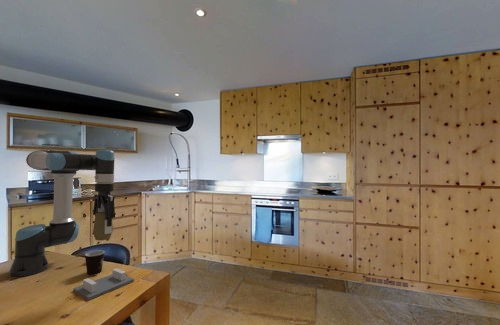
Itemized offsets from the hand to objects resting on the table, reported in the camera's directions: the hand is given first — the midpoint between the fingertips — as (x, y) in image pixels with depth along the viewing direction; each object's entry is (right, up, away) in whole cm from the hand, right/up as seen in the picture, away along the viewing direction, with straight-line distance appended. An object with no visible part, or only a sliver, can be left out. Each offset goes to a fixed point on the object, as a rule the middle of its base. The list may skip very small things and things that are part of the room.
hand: (103, 231), depth 110 cm
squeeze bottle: (0, -3, 0) cm, 3 cm away
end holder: (+1, -25, 0) cm, 25 cm away
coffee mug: (-13, -26, +16) cm, 33 cm away
